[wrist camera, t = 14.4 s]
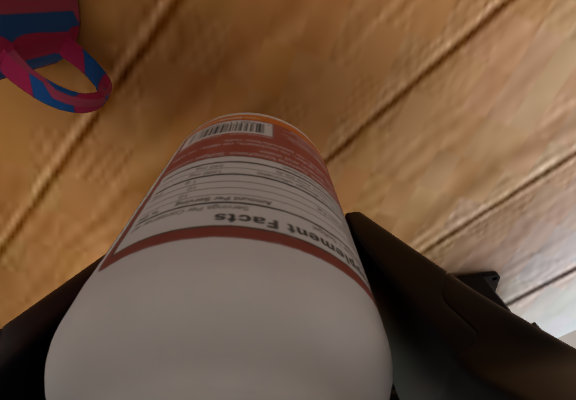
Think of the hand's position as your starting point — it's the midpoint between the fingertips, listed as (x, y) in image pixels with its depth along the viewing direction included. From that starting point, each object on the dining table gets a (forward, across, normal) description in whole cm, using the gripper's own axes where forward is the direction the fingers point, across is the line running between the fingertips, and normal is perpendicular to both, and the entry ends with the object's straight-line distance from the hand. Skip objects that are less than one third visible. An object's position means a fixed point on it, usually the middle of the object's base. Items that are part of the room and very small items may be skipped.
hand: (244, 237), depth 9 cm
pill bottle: (+4, 0, 0) cm, 4 cm away
